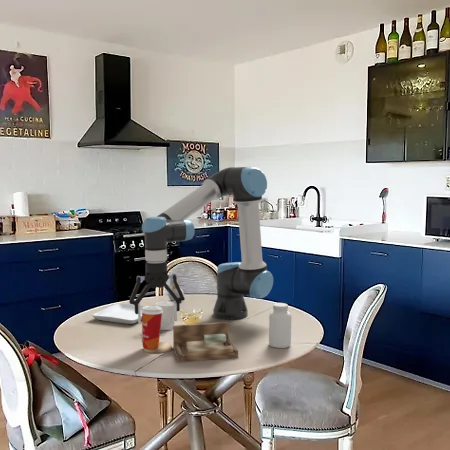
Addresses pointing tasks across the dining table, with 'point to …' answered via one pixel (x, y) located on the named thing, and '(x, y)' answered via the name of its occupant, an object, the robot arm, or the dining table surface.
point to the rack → (203, 342)
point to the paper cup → (151, 326)
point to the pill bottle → (280, 326)
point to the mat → (160, 348)
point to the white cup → (167, 314)
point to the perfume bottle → (174, 291)
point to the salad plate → (119, 314)
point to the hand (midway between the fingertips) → (157, 321)
